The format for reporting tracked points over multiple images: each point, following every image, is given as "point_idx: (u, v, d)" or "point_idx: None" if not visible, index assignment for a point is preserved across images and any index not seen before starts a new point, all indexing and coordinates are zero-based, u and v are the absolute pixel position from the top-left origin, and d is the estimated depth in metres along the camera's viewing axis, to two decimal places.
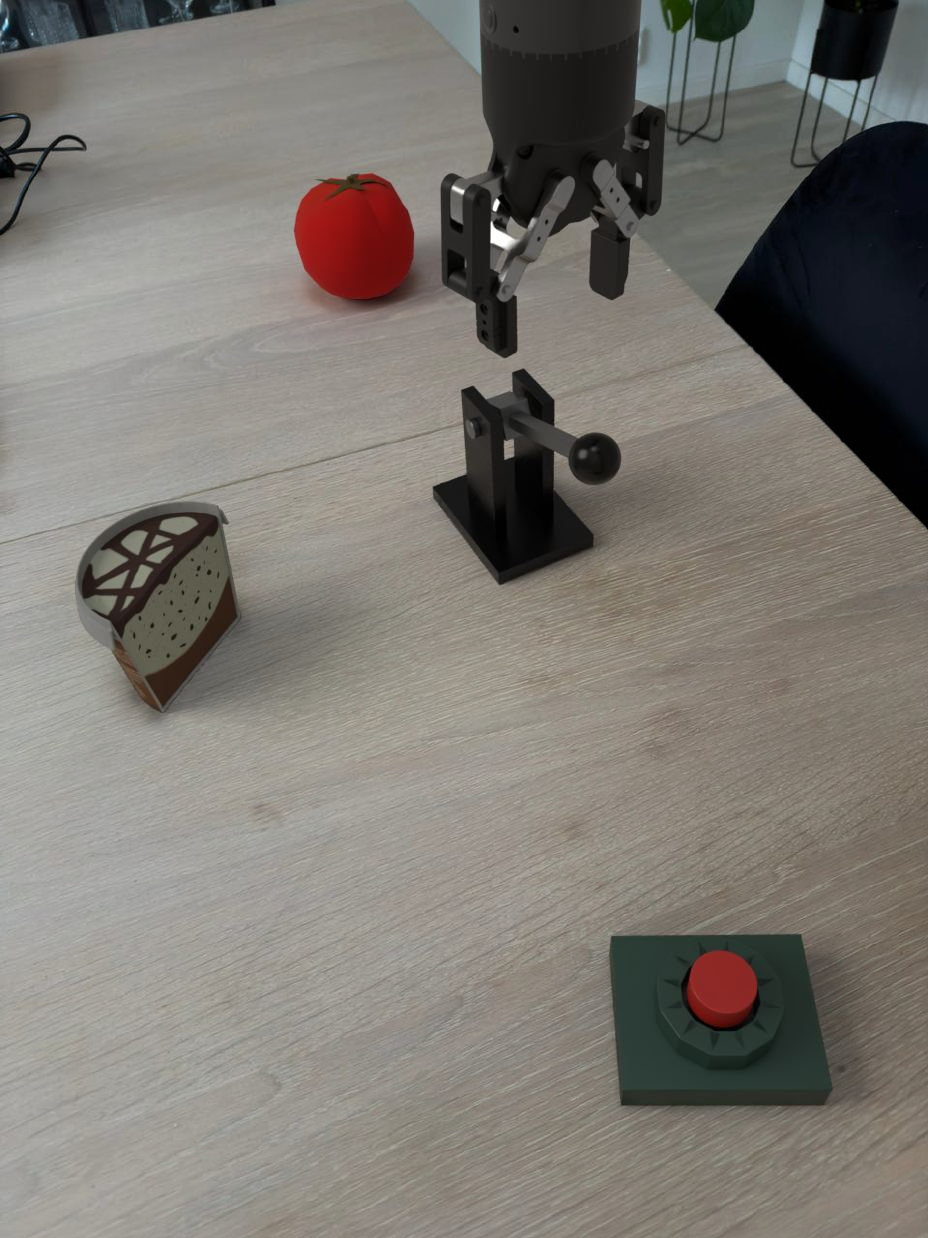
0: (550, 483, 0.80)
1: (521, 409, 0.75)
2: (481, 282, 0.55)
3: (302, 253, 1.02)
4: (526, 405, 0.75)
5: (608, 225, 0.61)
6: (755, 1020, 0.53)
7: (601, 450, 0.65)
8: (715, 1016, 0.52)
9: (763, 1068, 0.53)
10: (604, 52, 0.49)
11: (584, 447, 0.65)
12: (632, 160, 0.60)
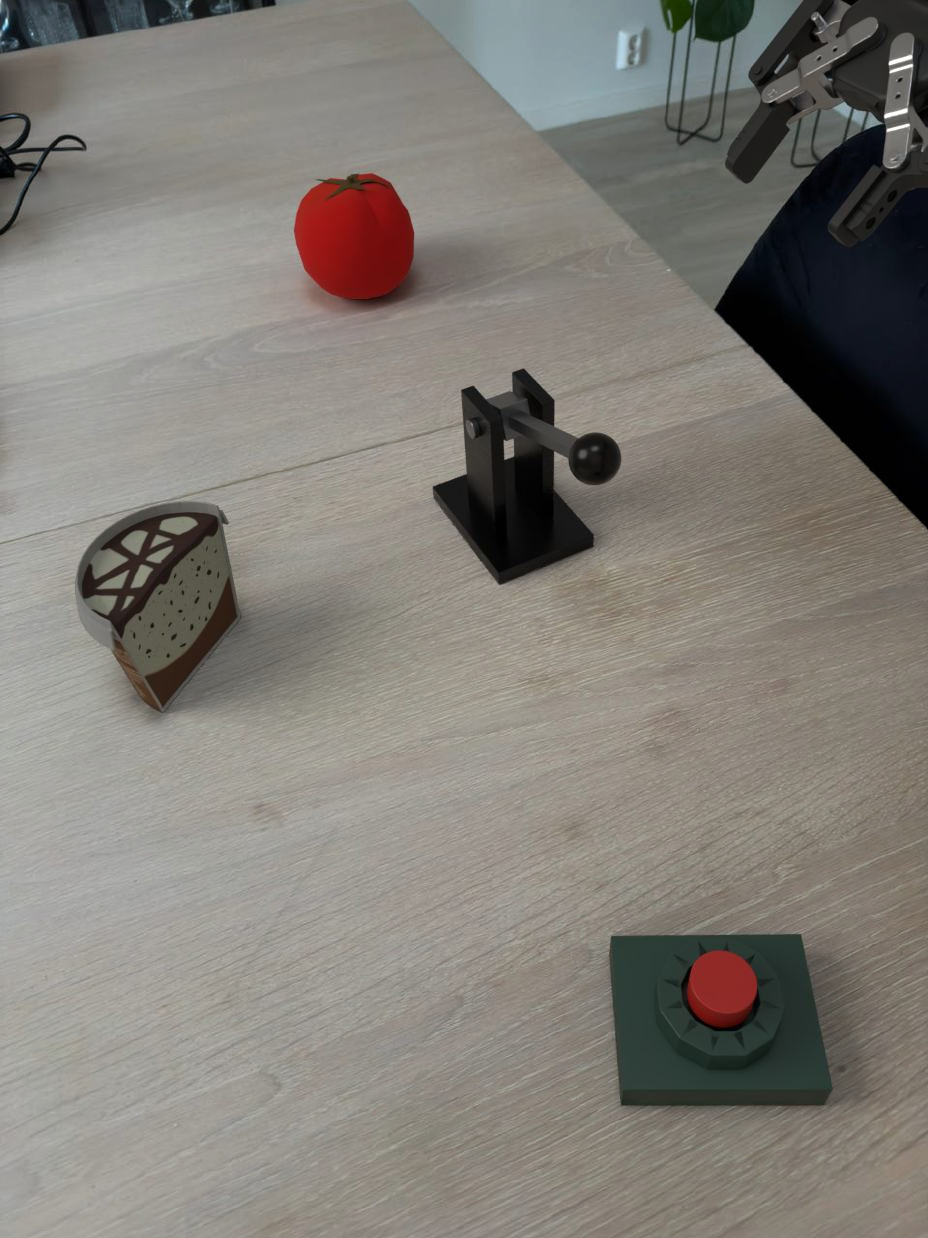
0: (550, 483, 0.80)
1: (521, 409, 0.75)
2: (764, 62, 0.62)
3: (302, 253, 1.02)
4: (526, 405, 0.75)
5: None
6: (755, 1020, 0.53)
7: (601, 450, 0.65)
8: (715, 1016, 0.52)
9: (763, 1068, 0.53)
10: None
11: (584, 447, 0.65)
12: None
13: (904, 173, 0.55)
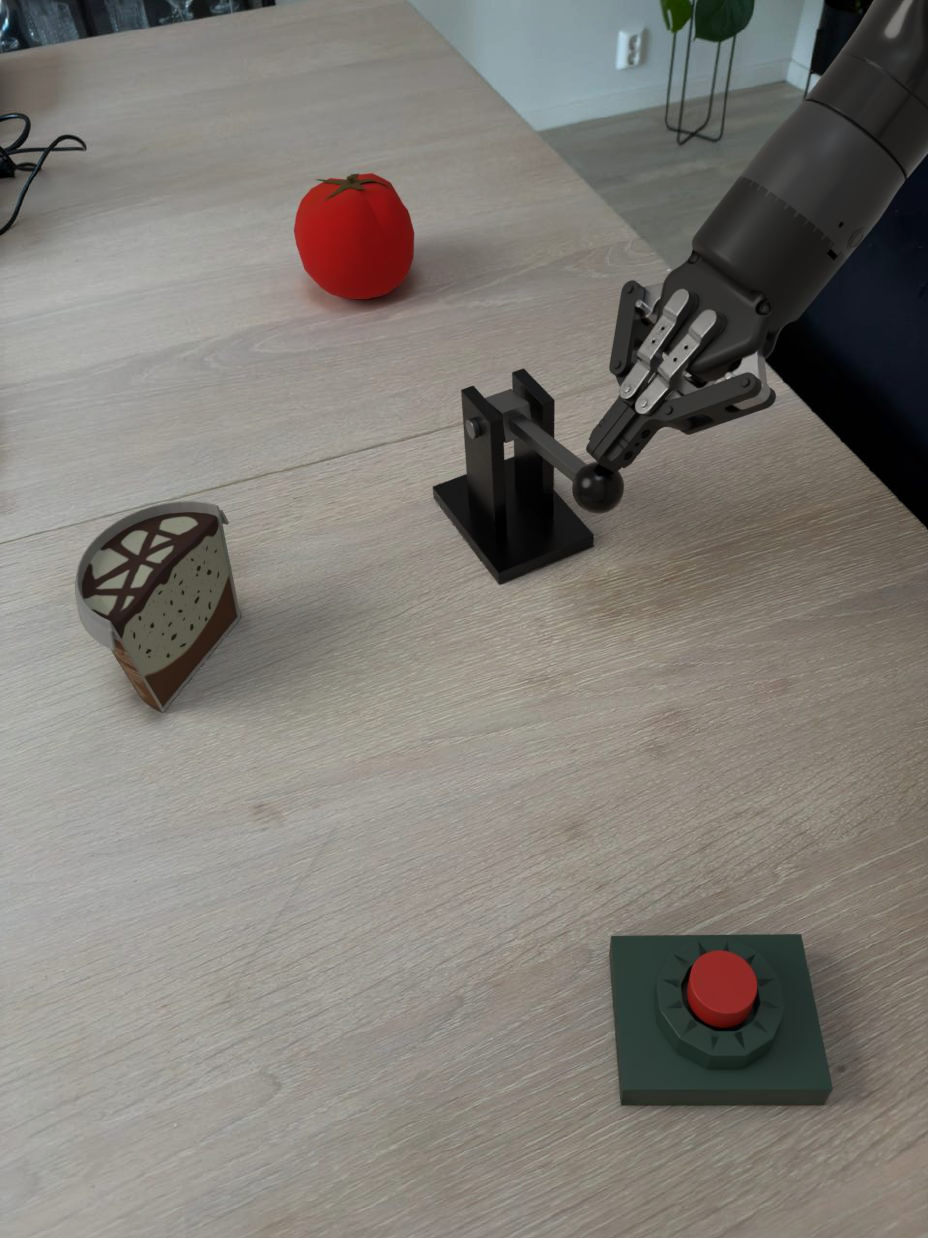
0: (550, 483, 0.80)
1: (522, 413, 0.75)
2: (623, 357, 0.65)
3: (302, 253, 1.02)
4: (527, 409, 0.75)
5: None
6: (755, 1020, 0.53)
7: (606, 484, 0.66)
8: (715, 1016, 0.52)
9: (763, 1068, 0.53)
10: (749, 184, 0.58)
11: (589, 479, 0.66)
12: None
13: (643, 420, 0.64)
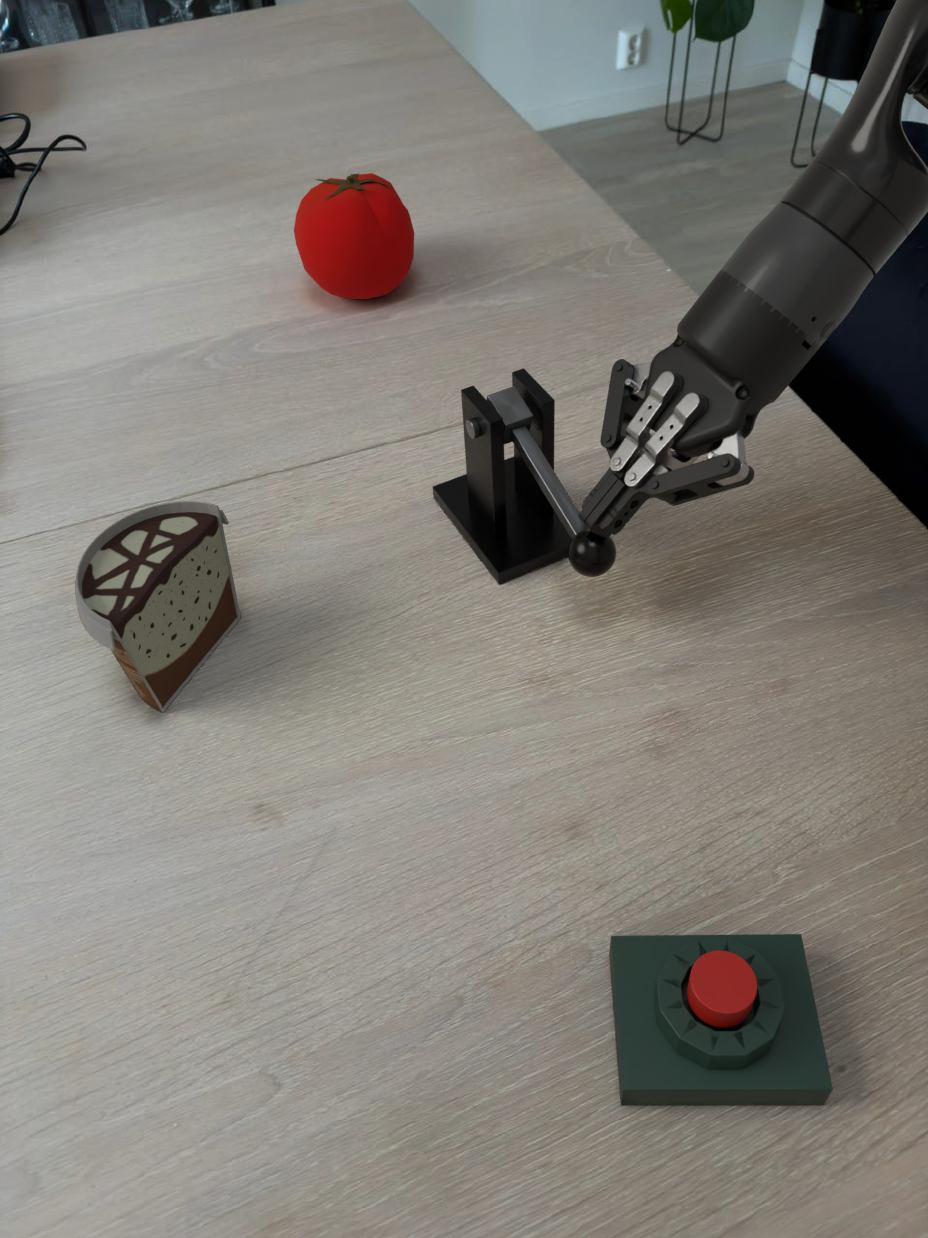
0: None
1: (524, 423, 0.75)
2: (613, 432, 0.70)
3: (302, 253, 1.02)
4: (530, 420, 0.75)
5: None
6: (755, 1020, 0.53)
7: (602, 562, 0.71)
8: (715, 1016, 0.52)
9: (763, 1068, 0.53)
10: (729, 279, 0.63)
11: (588, 555, 0.70)
12: None
13: (632, 491, 0.68)
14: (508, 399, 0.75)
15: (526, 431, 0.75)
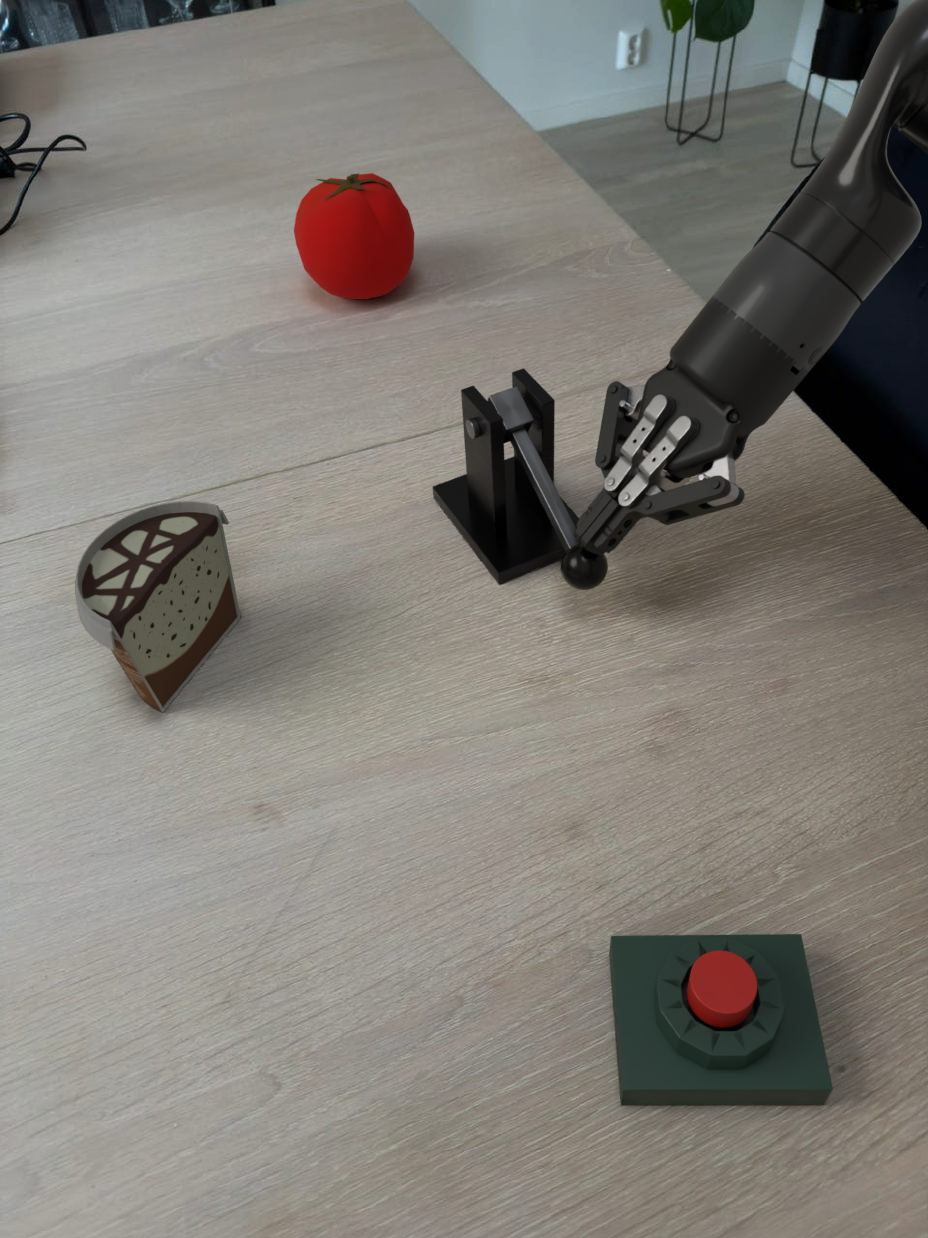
0: None
1: (524, 426, 0.76)
2: (608, 452, 0.71)
3: (302, 253, 1.02)
4: (530, 423, 0.76)
5: None
6: (755, 1020, 0.53)
7: (594, 579, 0.73)
8: (715, 1016, 0.52)
9: (763, 1068, 0.53)
10: (720, 306, 0.65)
11: (581, 572, 0.73)
12: None
13: (626, 511, 0.70)
14: (510, 401, 0.75)
15: (526, 435, 0.76)
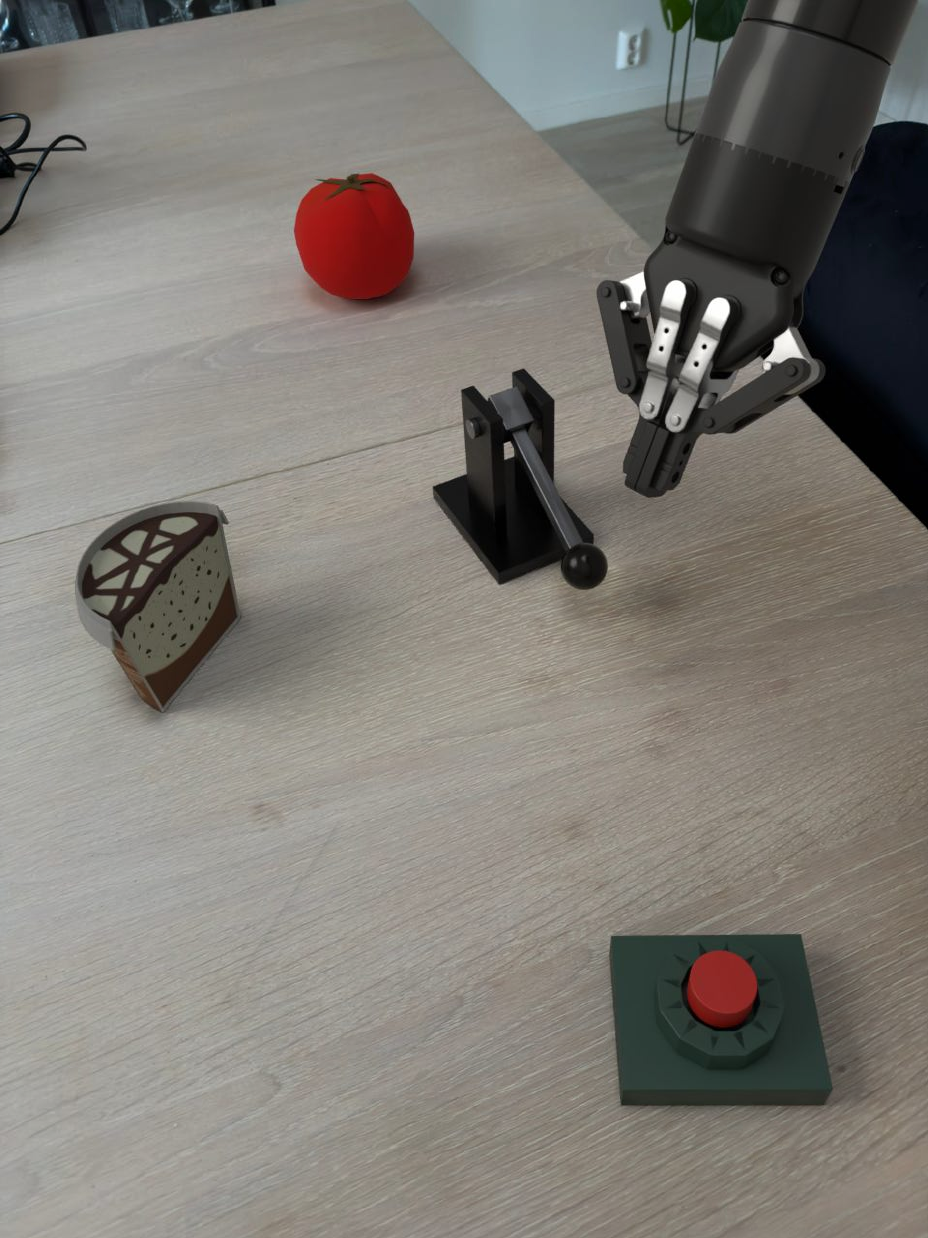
0: None
1: (524, 426, 0.76)
2: (630, 372, 0.56)
3: (302, 253, 1.02)
4: (530, 423, 0.76)
5: None
6: (755, 1020, 0.53)
7: (594, 579, 0.73)
8: (715, 1016, 0.52)
9: (763, 1068, 0.53)
10: (719, 144, 0.49)
11: (581, 572, 0.73)
12: None
13: (680, 436, 0.55)
14: (510, 401, 0.75)
15: (526, 435, 0.76)
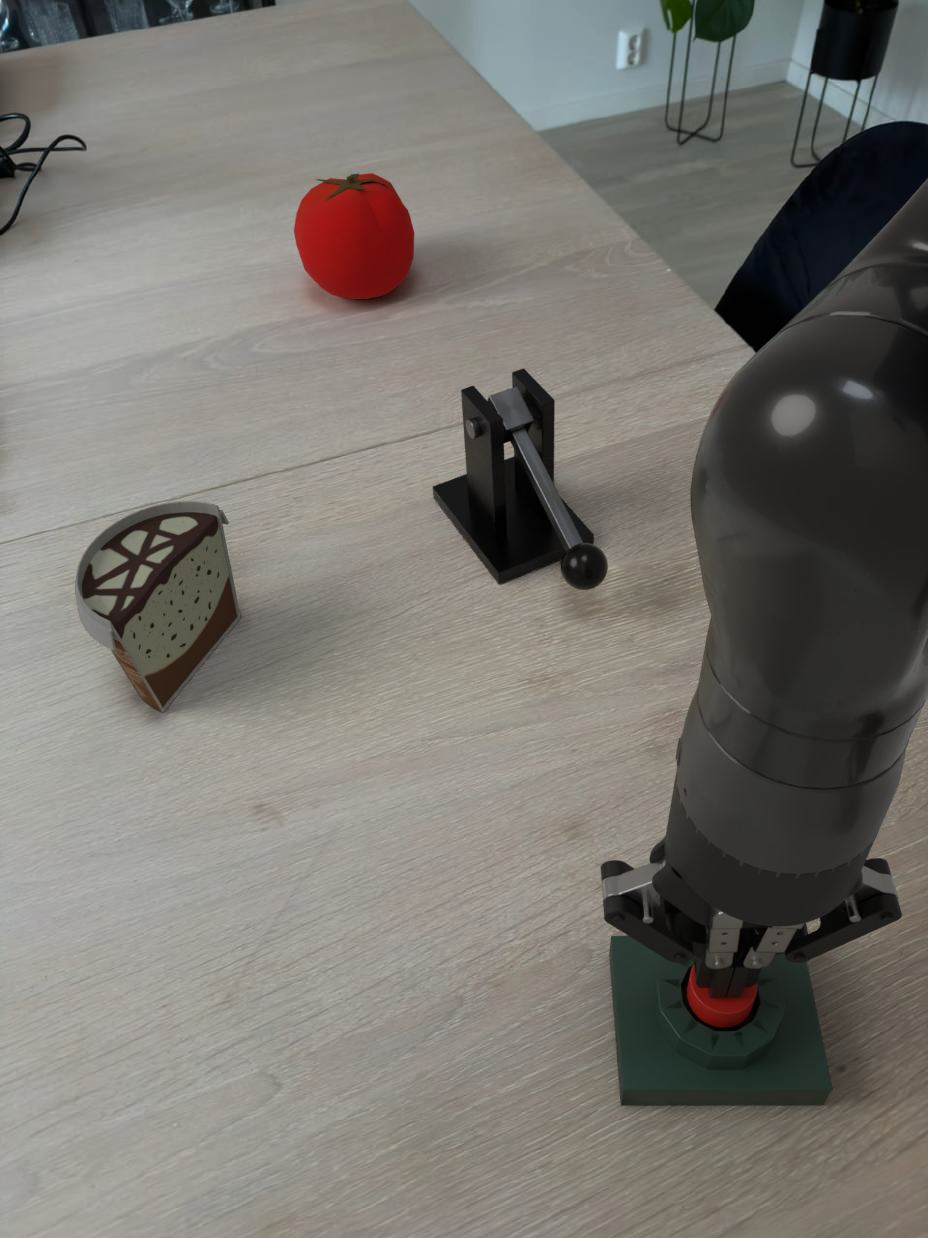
0: None
1: (524, 426, 0.76)
2: (682, 951, 0.48)
3: (302, 253, 1.02)
4: (530, 423, 0.76)
5: None
6: (755, 1020, 0.53)
7: (594, 579, 0.73)
8: (715, 1016, 0.52)
9: (763, 1068, 0.53)
10: (774, 875, 0.38)
11: (581, 572, 0.73)
12: None
13: None
14: (510, 401, 0.75)
15: (526, 435, 0.76)
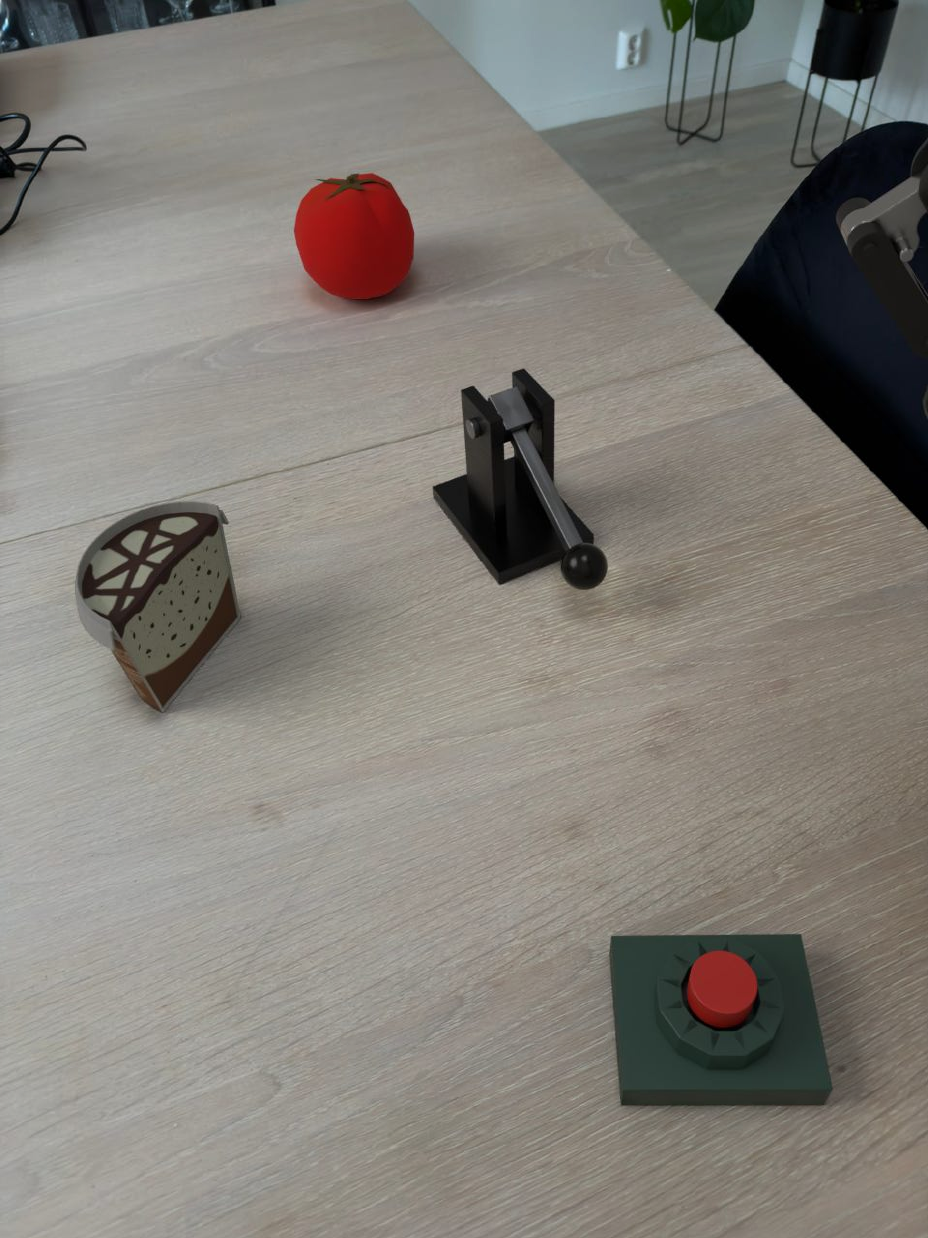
0: None
1: (524, 426, 0.76)
2: None
3: (302, 253, 1.02)
4: (530, 423, 0.76)
5: None
6: (755, 1020, 0.53)
7: (594, 579, 0.73)
8: (715, 1016, 0.52)
9: (763, 1068, 0.53)
10: None
11: (581, 572, 0.73)
12: None
13: None
14: (510, 401, 0.75)
15: (526, 435, 0.76)
